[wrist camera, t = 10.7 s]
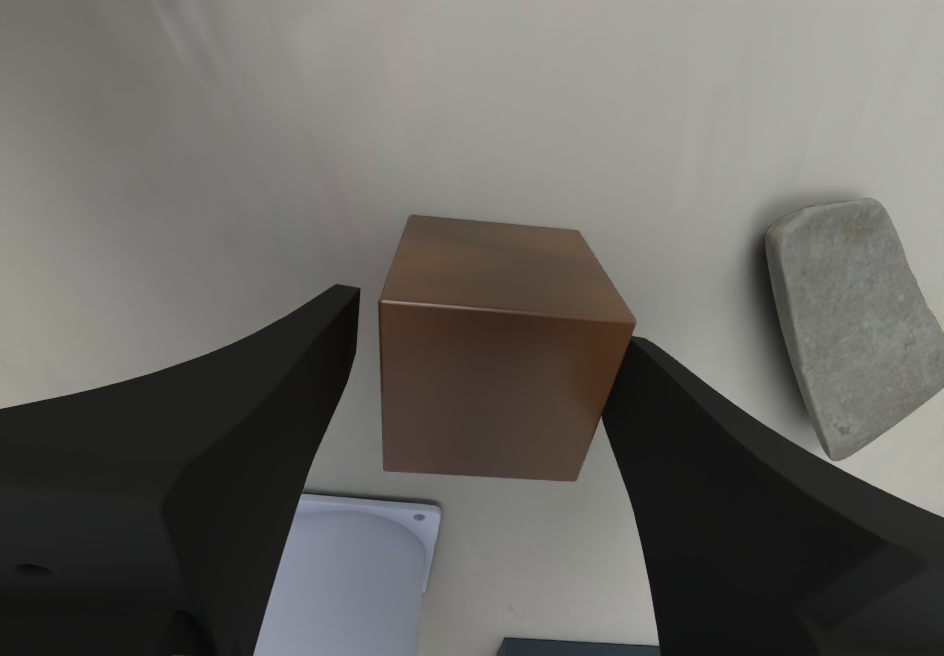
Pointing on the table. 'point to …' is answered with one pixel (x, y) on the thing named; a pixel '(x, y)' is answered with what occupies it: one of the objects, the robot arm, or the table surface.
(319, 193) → the table surface
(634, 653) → the grey base slab
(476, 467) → the walnut block
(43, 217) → the table surface
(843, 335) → the decorative stone
